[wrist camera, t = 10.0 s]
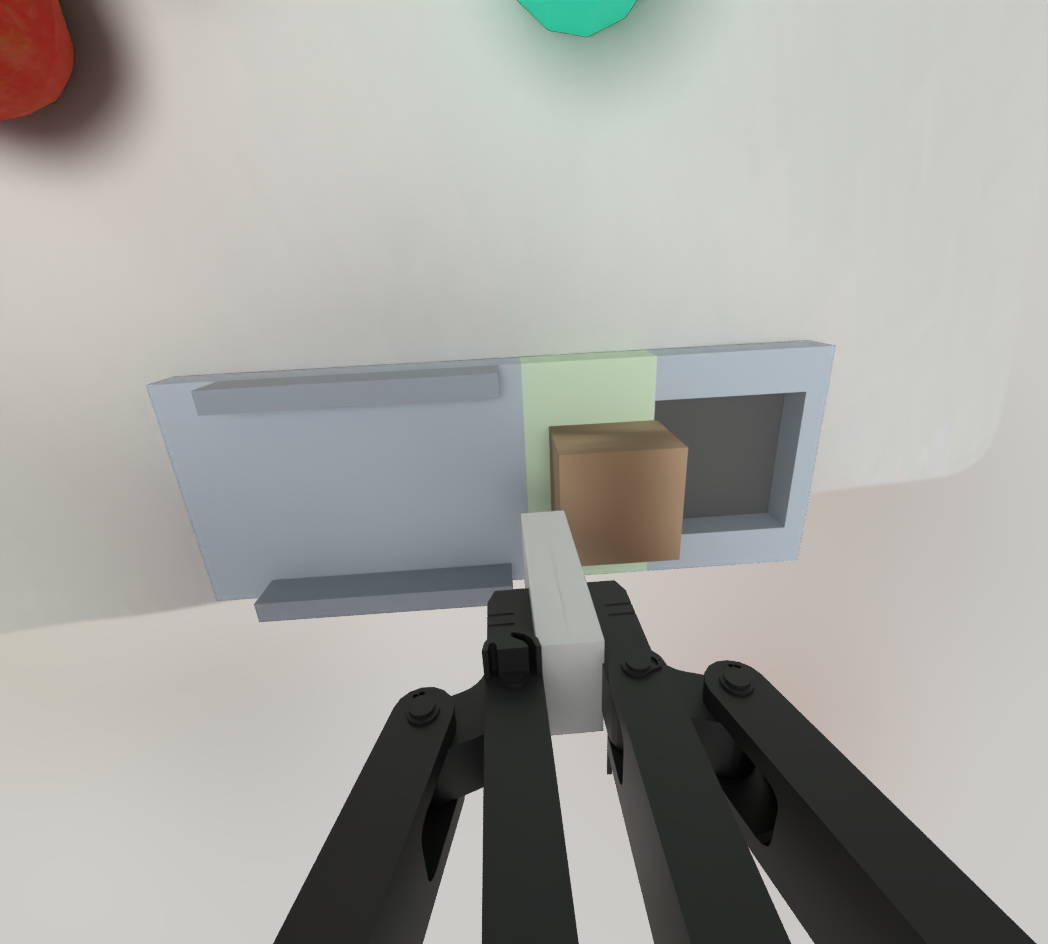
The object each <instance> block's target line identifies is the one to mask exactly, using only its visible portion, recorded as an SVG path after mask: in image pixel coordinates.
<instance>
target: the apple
mask: <svg viewBox="0 0 1048 944" xmlns="http://www.w3.org/2000/svg"><path fill="white" fill-rule="evenodd" d="M73 67H74V64H73V44H72V41H71V38H70V35H69V31H68V28H67V25H66V22H65V19H64V16H63V13H62V10H61V6H60V3H59V1H58V0H0V121H3V120H8V119H13V118H18V117H23V116H28V115H30V114H32V113H34V112H36V111H37V110H39V109H41V108H43V107H45V106H47V105H49V104H51V103H53V102H55V101H56V100H57V99H58V98H59V97H60V95H61V92H62V91H63V89H64V87H65V85H66V84H67V81H68V79H69V77H70V74H71V72H72V70H73Z"/></svg>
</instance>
